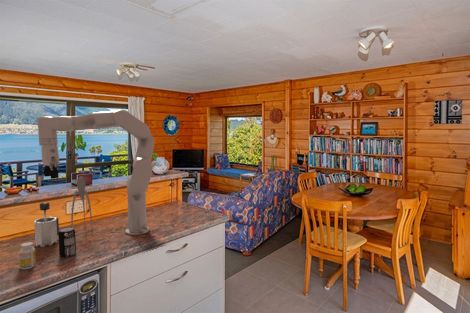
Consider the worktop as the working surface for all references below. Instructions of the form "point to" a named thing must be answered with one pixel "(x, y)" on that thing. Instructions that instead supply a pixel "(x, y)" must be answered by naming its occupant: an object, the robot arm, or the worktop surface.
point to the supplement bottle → (27, 256)
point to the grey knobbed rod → (44, 208)
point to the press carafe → (46, 231)
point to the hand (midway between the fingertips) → (51, 177)
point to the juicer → (81, 193)
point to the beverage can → (67, 242)
